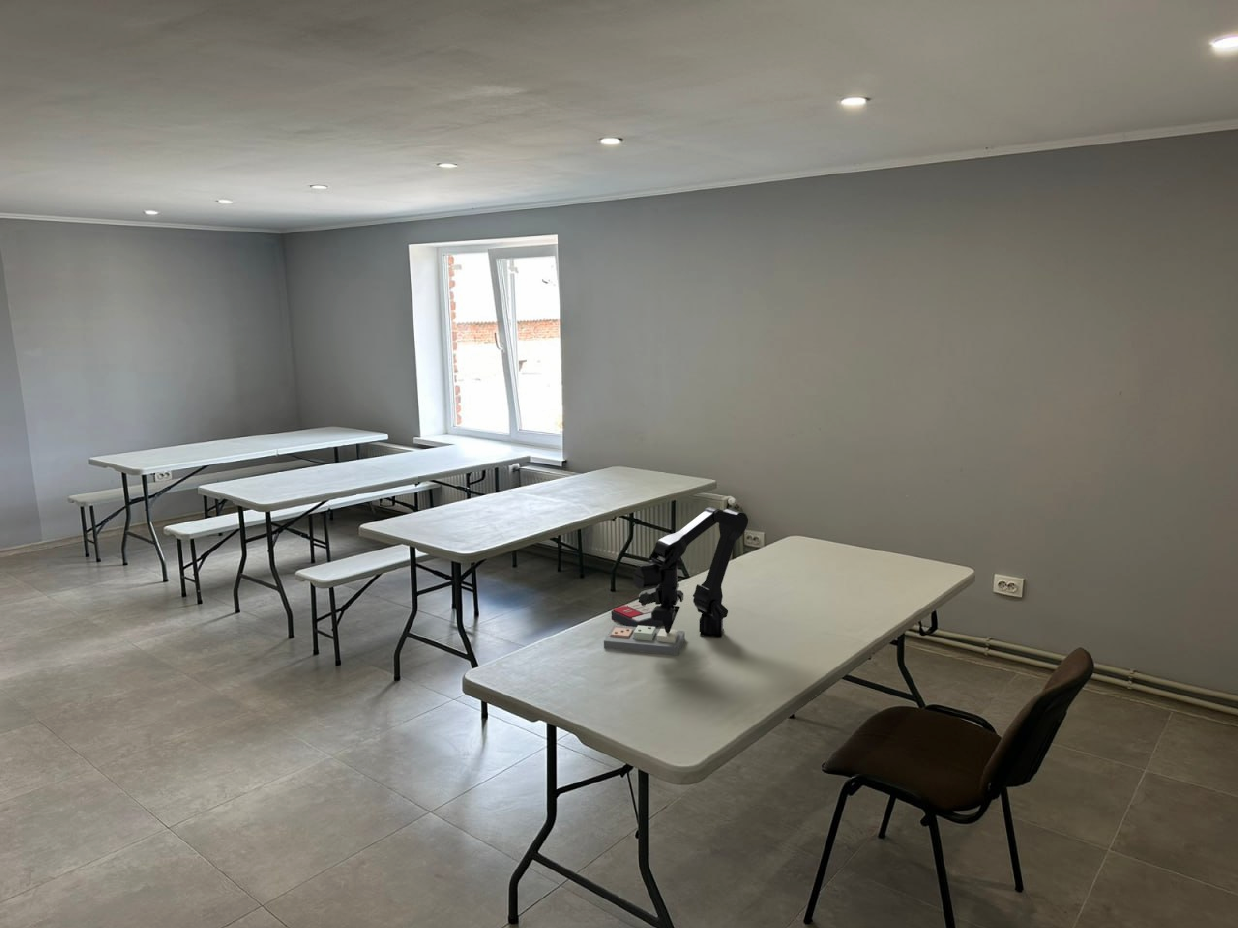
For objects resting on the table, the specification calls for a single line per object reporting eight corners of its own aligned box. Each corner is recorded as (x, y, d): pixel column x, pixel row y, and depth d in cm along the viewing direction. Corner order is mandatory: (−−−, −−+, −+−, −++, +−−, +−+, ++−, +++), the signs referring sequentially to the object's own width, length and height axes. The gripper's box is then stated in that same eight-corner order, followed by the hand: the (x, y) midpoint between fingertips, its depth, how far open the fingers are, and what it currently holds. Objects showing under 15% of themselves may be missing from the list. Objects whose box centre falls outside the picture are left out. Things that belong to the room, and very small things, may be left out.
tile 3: (632, 636, 243) (632, 628, 243) (628, 643, 238) (628, 635, 238) (615, 635, 245) (615, 626, 244) (611, 642, 240) (610, 633, 239)
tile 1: (678, 638, 240) (678, 629, 239) (674, 645, 235) (674, 636, 234) (660, 636, 241) (660, 627, 241) (656, 643, 236) (656, 634, 235)
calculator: (638, 601, 265) (665, 612, 253) (638, 613, 266) (666, 625, 254) (610, 608, 259) (637, 620, 247) (611, 621, 260) (638, 633, 248)
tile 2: (655, 634, 241) (655, 626, 241) (651, 641, 236) (651, 633, 236) (638, 633, 243) (637, 624, 242) (633, 640, 238) (633, 631, 237)
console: (684, 638, 243) (684, 631, 242) (677, 655, 231) (677, 647, 231) (614, 632, 248) (614, 625, 248) (603, 647, 237) (603, 640, 237)
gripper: (647, 570, 245) (648, 618, 248) (633, 590, 228) (633, 642, 231) (683, 572, 242) (683, 621, 245) (671, 593, 225) (672, 645, 228)
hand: (667, 632), depth 237 cm, fingers closed, pressing on tile 1
